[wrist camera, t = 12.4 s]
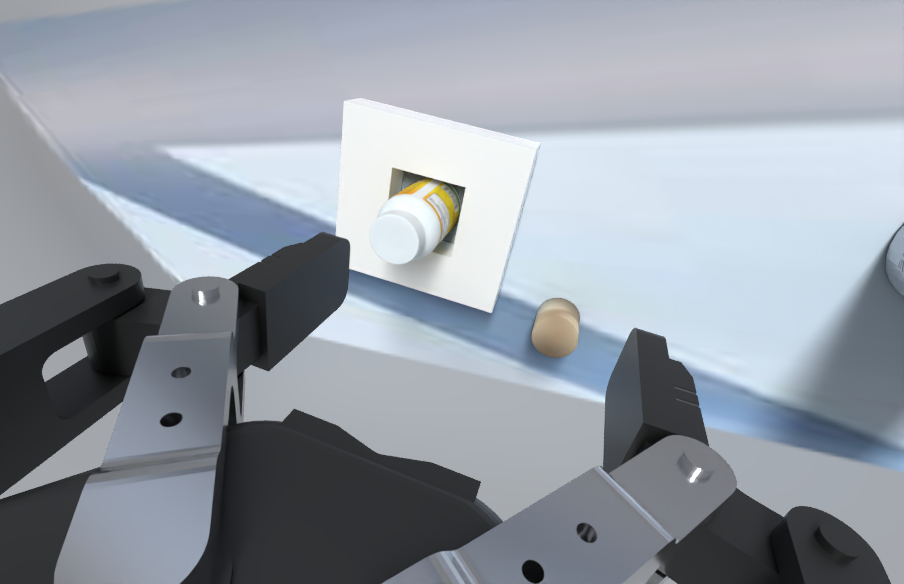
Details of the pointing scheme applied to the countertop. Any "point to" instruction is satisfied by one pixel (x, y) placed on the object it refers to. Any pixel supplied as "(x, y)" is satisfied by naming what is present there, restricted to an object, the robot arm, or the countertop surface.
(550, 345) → the short birch peg
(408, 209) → the supplement bottle
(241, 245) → the countertop surface
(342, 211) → the collar block
